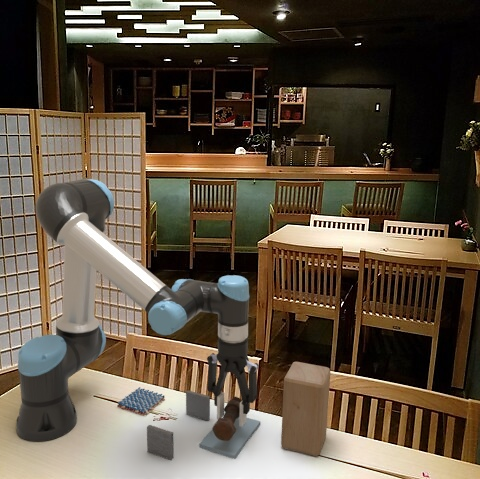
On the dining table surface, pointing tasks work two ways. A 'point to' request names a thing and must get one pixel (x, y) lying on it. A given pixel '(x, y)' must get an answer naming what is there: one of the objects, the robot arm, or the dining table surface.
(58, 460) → the dining table surface
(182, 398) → the dining table surface
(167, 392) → the dining table surface
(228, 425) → the bolt
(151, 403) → the woven mat
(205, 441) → the slate pad
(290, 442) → the wooden block
